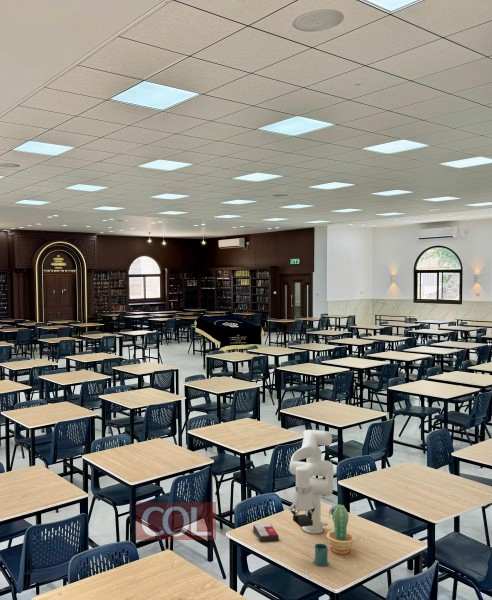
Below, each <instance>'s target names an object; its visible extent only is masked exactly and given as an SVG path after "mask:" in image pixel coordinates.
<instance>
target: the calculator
mask: <svg viewBox="0 0 492 600" xmlns="http://www.w3.org/2000/svg"><path fill="white" fill-rule="evenodd" d="M252 526H253V529H252V531H253V533H254V534H255V535H256V537H257V538H258V540H259V542H261V543H263V542H264V543H265V542H278V541H279V540H280V539H279V537H280V535H279V534H278V532H277V531H276V530H275V528H274V526H273V525H272V523H258V524H253V525H252Z"/></svg>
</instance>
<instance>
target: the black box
mask: <svg viewBox="0 0 492 600" xmlns="http://www.w3.org/2000/svg"><path fill="white" fill-rule="evenodd" d="M297 516H298V523H296V522H295V521H294V515H292V521H293V522H294V523H296V525H298V527H300V528H302V527H304V526H313V521H312V520H311V519H310V518H309V517H308V516H307V515H305V513H304V514H302V513H301V514H297Z"/></svg>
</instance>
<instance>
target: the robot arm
mask: <svg viewBox="0 0 492 600" xmlns="http://www.w3.org/2000/svg"><path fill="white" fill-rule="evenodd" d="M332 442H333V436H332V432H330V431H327V430H318V429H305V430H303V432H302V443H301V444H302V445H301V447H300V448H299V449H297V450H296V451H295V452H294V453H293V454H292V455H291V458H290V461H289V467H288V468H289V469H288V470H289V473H290V474H291V475H295V490H294V492H293V496H292V504H291V505H290V506H289V507H288V510H289V512H290V513H291V514H293V516H294V521H295V522H296V524H297V523H298V516H297V515H299V512H304V514H305V515H307V516H308V517H309V518H310V519H311V520H312V521H313V526H304V527H301V530H302V531H303V532H305V533H308V534H314V535H315V534H316V535H317V534H318V535H319V534H321V533H323V532H324V527H326V526H327V527H328V526H329V522H328V521H325V522H324V521H323V520H322V521H321V517H322V516H321V508H322V507H321V506H322V503H321V499H320V497H319V496H326V497H330V496H332V495H333V491H334V464H333V463H332V461H330V460H323V459H322V450H321V448H320V447H319V446H325V447H329V446H331V444H332ZM305 459H306V461H301V460H305ZM315 476H316V477H315ZM317 476H318V477H317ZM319 477H324V478H319ZM293 509H294V510H293ZM294 521H293V522H294ZM295 522H294V523H295Z"/></svg>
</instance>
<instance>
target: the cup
mask: <svg viewBox="0 0 492 600" xmlns="http://www.w3.org/2000/svg"><path fill="white" fill-rule="evenodd" d="M328 549H329V547H328V545H326V543H325V544H324V543H316V544H315V545H314V564H316V565H317V566H318V567H319V566H320V567H326V566H328V563H329V562H328V559H329V558H328V555H329V554H328V553H329V551H328Z"/></svg>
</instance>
